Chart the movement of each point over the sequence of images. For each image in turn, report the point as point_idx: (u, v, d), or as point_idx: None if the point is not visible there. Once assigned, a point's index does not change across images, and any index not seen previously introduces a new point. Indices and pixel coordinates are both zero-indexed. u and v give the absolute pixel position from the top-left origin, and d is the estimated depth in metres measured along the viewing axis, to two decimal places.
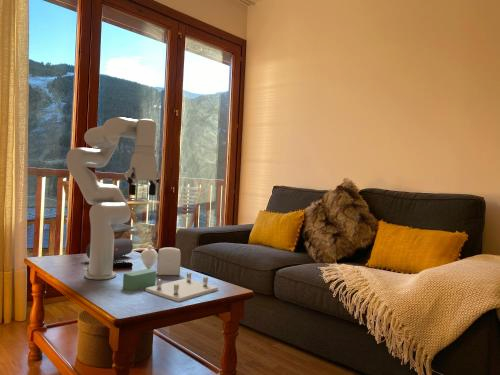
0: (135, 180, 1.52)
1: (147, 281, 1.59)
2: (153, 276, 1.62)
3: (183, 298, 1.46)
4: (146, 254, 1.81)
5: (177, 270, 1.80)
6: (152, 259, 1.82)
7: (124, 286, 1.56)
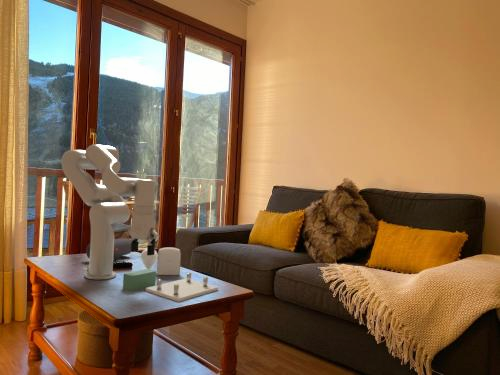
0: None
1: (147, 281, 1.59)
2: (153, 276, 1.62)
3: (183, 298, 1.46)
4: (146, 254, 1.81)
5: (177, 270, 1.80)
6: (152, 259, 1.82)
7: (124, 286, 1.56)
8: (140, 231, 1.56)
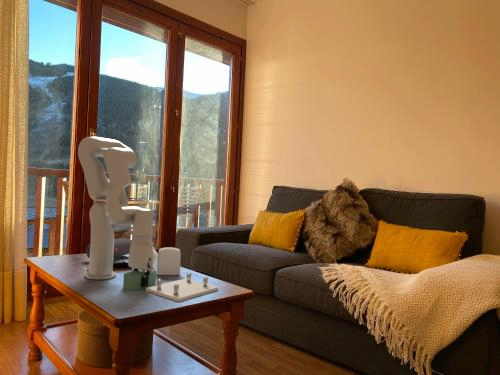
0: None
1: None
2: (153, 276, 1.62)
3: (183, 298, 1.46)
4: None
5: (177, 270, 1.80)
6: None
7: (124, 286, 1.55)
8: (138, 261, 1.56)
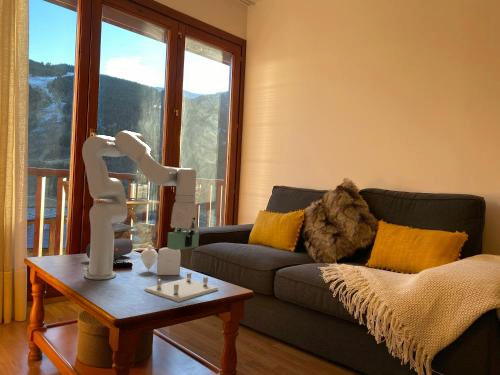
0: None
1: None
2: (196, 236, 1.60)
3: (183, 298, 1.46)
4: (146, 254, 1.81)
5: (177, 270, 1.80)
6: (152, 259, 1.82)
7: (169, 245, 1.54)
8: (182, 220, 1.54)
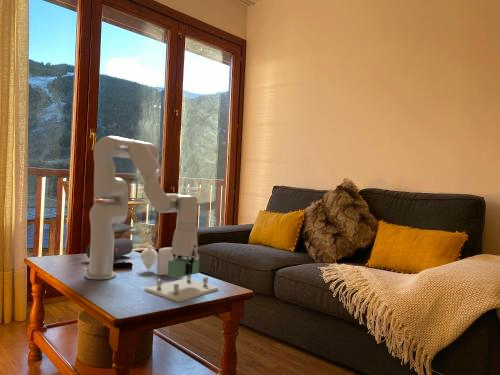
0: None
1: None
2: (196, 263, 1.60)
3: (183, 298, 1.46)
4: (146, 254, 1.81)
5: None
6: (152, 259, 1.82)
7: (169, 273, 1.54)
8: (183, 248, 1.55)
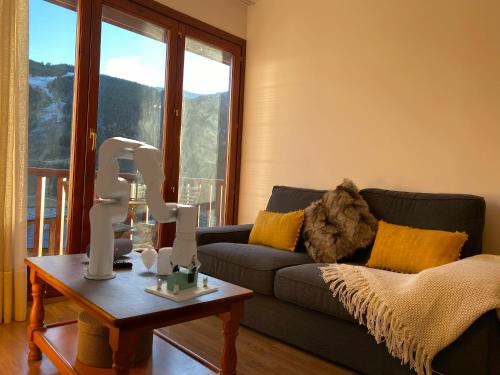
0: None
1: None
2: (195, 276, 1.61)
3: (183, 298, 1.46)
4: (146, 254, 1.81)
5: None
6: (152, 259, 1.82)
7: (168, 286, 1.54)
8: (182, 258, 1.55)
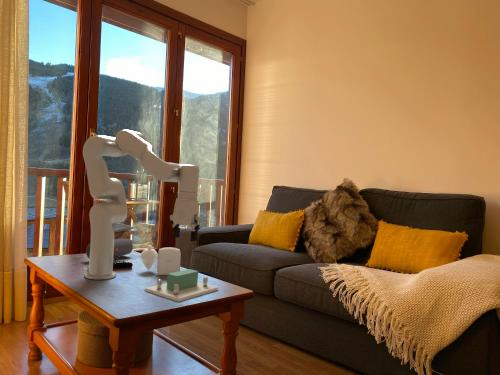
0: None
1: (190, 281, 1.58)
2: (195, 276, 1.61)
3: (183, 298, 1.46)
4: (146, 254, 1.81)
5: (177, 270, 1.80)
6: (152, 259, 1.82)
7: (168, 286, 1.54)
8: (184, 217, 1.54)
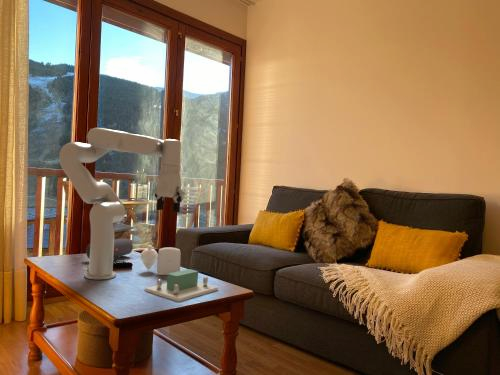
0: None
1: (190, 281, 1.58)
2: (195, 276, 1.61)
3: (183, 298, 1.46)
4: (146, 254, 1.81)
5: (177, 270, 1.80)
6: (152, 259, 1.82)
7: (168, 286, 1.54)
8: (166, 189, 1.62)
